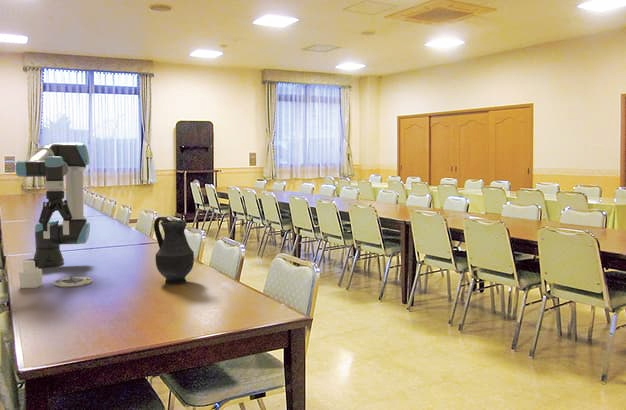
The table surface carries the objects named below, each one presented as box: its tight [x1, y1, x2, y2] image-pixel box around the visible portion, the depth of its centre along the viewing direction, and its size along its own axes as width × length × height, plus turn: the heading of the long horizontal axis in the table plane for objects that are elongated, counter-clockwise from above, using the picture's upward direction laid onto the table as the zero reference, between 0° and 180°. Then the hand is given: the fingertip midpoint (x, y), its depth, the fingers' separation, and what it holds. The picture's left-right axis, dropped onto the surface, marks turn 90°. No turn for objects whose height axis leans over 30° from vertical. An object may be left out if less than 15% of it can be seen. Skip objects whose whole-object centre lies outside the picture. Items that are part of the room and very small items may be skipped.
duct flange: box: [53, 276, 93, 288], centre depth 265 cm, size 16×16×2 cm
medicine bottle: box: [19, 258, 43, 289], centre depth 258 cm, size 7×7×12 cm
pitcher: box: [153, 216, 195, 285], centre depth 267 cm, size 17×21×30 cm
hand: (56, 236), depth 267 cm, fingers open, 13 cm apart
